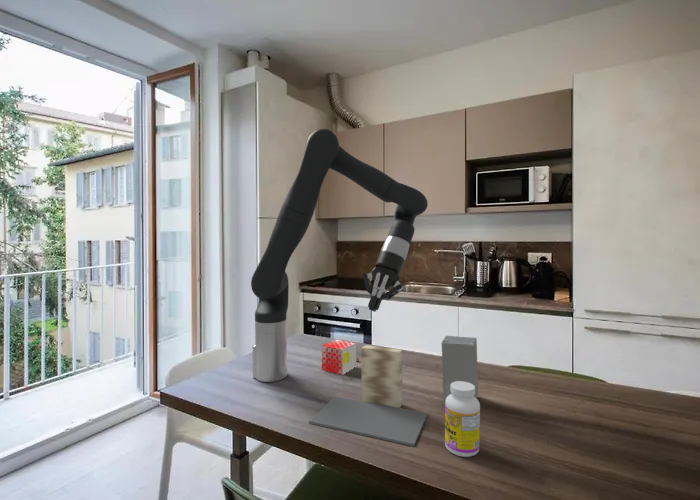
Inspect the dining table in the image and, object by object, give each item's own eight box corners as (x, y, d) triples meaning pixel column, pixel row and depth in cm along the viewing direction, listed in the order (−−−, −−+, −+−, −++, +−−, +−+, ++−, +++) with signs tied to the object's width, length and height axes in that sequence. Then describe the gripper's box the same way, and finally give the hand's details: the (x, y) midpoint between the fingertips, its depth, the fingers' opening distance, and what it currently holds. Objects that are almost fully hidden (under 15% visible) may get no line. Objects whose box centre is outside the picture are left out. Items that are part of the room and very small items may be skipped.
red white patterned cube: (342, 375, 114) (342, 349, 113) (321, 370, 118) (321, 345, 117) (356, 367, 120) (356, 342, 120) (336, 362, 124) (335, 339, 124)
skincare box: (478, 396, 98) (479, 336, 98) (475, 407, 92) (476, 344, 91) (445, 390, 102) (446, 333, 101) (440, 401, 95) (441, 340, 95)
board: (361, 401, 96) (361, 347, 95) (364, 397, 98) (364, 345, 97) (399, 408, 92) (399, 352, 91) (402, 404, 94) (402, 349, 93)
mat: (309, 423, 85) (309, 421, 85) (335, 398, 97) (335, 396, 97) (413, 446, 75) (413, 444, 75) (427, 415, 88) (427, 413, 88)
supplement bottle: (440, 440, 78) (440, 379, 77) (471, 438, 78) (471, 378, 78) (451, 459, 71) (452, 393, 70) (485, 457, 72) (486, 391, 71)
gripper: (369, 244, 109) (347, 300, 105) (411, 256, 103) (389, 315, 99) (377, 253, 115) (356, 306, 112) (417, 264, 109) (396, 320, 106)
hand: (372, 310), depth 105 cm, fingers closed
